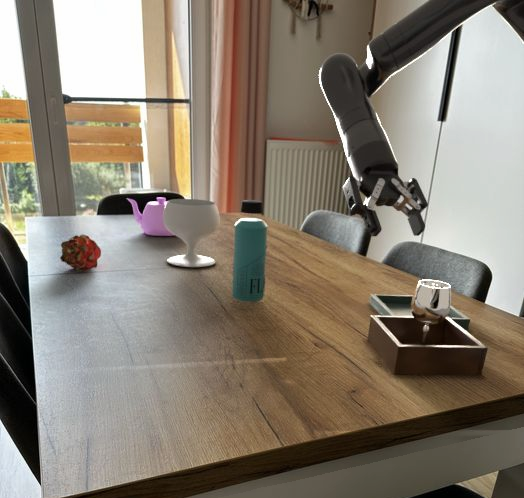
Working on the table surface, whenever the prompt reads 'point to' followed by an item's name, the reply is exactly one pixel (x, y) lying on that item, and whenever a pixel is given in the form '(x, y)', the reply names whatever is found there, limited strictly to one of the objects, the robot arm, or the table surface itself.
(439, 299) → the wineglass
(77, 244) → the dragon fruit
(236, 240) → the beverage bottle
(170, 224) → the chalice
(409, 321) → the brown wooden box
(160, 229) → the teapot
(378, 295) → the tray
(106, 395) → the table surface
